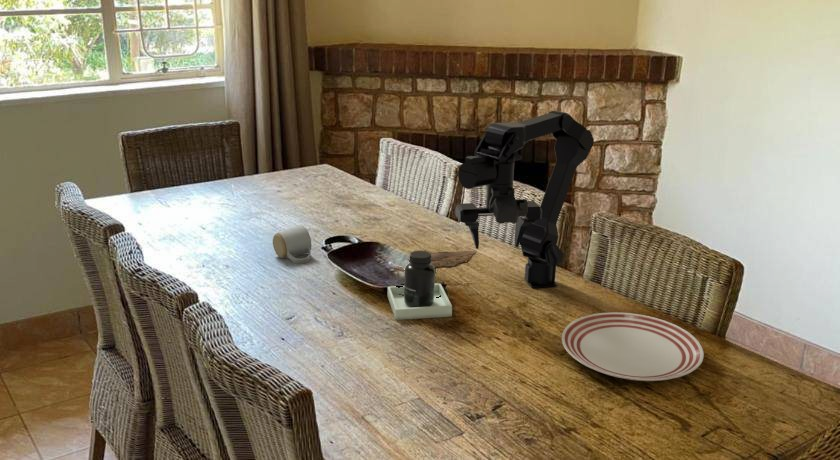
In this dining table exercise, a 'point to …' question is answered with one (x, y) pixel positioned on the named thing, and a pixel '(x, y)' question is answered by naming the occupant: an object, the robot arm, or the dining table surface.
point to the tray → (402, 311)
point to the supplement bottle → (419, 280)
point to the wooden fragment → (447, 259)
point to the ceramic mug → (293, 243)
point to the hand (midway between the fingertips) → (496, 247)
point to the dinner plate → (632, 346)
